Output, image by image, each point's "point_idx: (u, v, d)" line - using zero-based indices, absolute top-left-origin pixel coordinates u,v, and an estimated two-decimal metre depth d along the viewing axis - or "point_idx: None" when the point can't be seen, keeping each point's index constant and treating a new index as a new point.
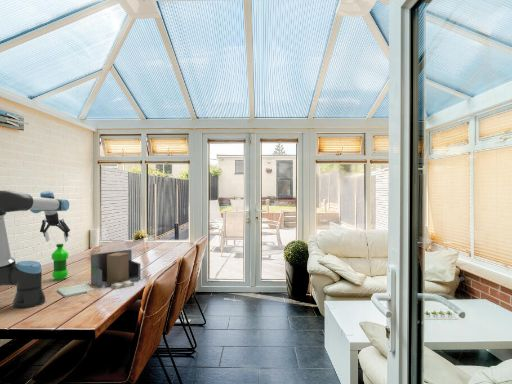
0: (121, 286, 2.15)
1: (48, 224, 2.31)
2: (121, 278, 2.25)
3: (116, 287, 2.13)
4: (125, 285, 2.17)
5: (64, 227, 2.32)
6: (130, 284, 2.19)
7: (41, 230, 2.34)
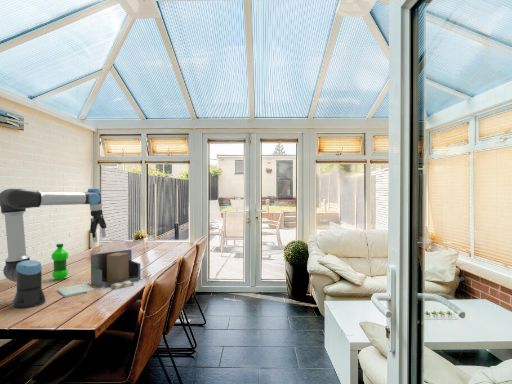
0: (121, 286, 2.15)
1: None
2: (121, 278, 2.25)
3: (116, 287, 2.12)
4: (125, 285, 2.17)
5: None
6: (130, 284, 2.19)
7: None
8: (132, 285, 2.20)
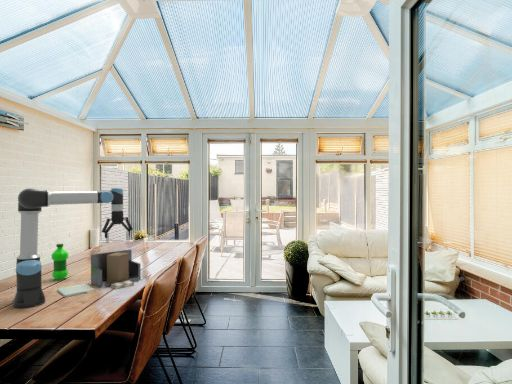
0: (121, 286, 2.15)
1: None
2: (121, 278, 2.25)
3: (116, 287, 2.12)
4: (125, 285, 2.17)
5: None
6: (130, 284, 2.19)
7: (129, 227, 2.36)
8: (132, 285, 2.20)
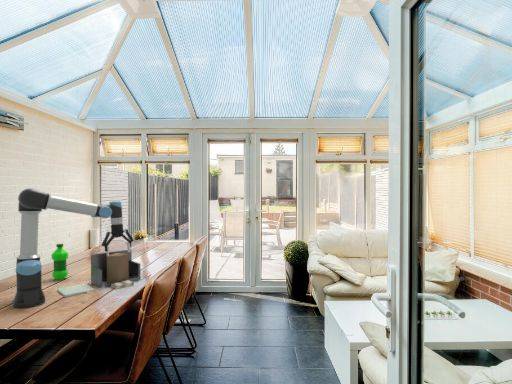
0: (121, 286, 2.15)
1: None
2: (121, 279, 2.25)
3: (116, 287, 2.13)
4: (125, 285, 2.17)
5: None
6: (130, 284, 2.19)
7: (130, 239, 2.36)
8: (132, 285, 2.20)
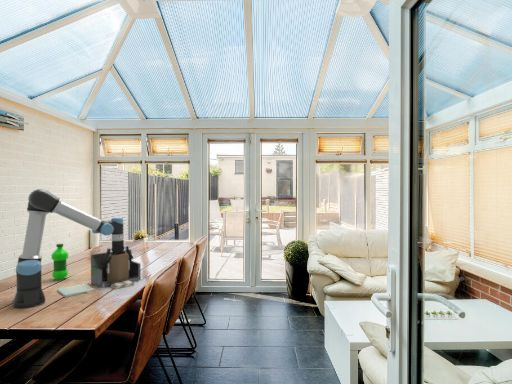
0: (121, 286, 2.15)
1: None
2: (121, 278, 2.25)
3: (117, 287, 2.13)
4: (125, 285, 2.17)
5: (105, 256, 2.24)
6: (130, 284, 2.19)
7: None
8: (132, 285, 2.20)
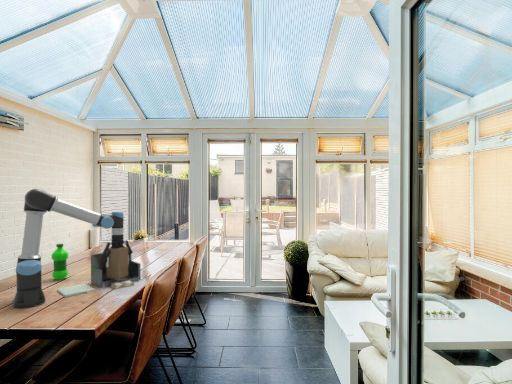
0: (121, 286, 2.15)
1: None
2: (120, 272, 2.25)
3: (116, 287, 2.13)
4: (125, 285, 2.17)
5: None
6: (130, 284, 2.19)
7: (129, 250, 2.36)
8: (132, 285, 2.20)
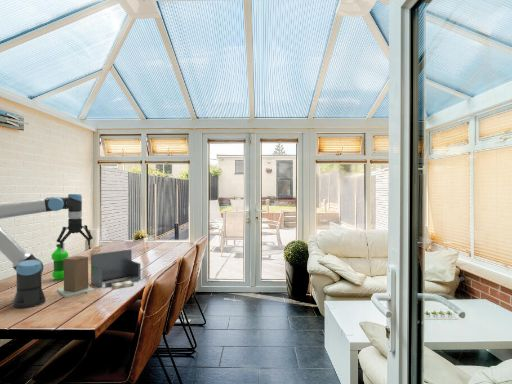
0: (120, 286, 2.15)
1: None
2: (78, 284, 2.07)
3: (115, 287, 2.13)
4: (124, 285, 2.16)
5: None
6: (130, 284, 2.18)
7: (89, 236, 2.18)
8: None
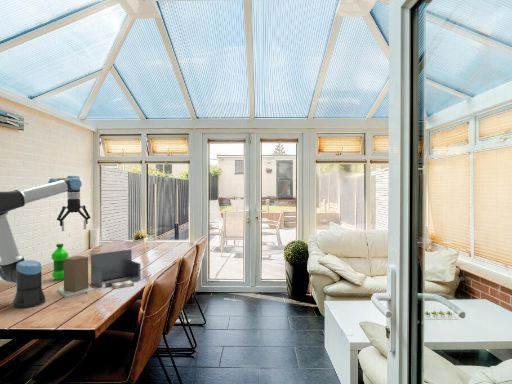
0: (120, 286, 2.15)
1: None
2: (78, 284, 2.07)
3: (115, 287, 2.13)
4: (125, 285, 2.17)
5: (60, 214, 2.22)
6: (130, 284, 2.18)
7: (87, 216, 2.33)
8: None
